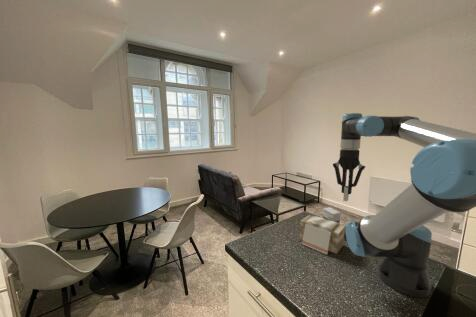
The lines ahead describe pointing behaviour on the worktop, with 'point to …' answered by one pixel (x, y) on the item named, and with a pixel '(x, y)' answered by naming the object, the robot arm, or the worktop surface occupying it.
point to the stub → (316, 238)
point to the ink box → (331, 214)
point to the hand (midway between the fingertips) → (345, 200)
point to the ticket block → (327, 225)
